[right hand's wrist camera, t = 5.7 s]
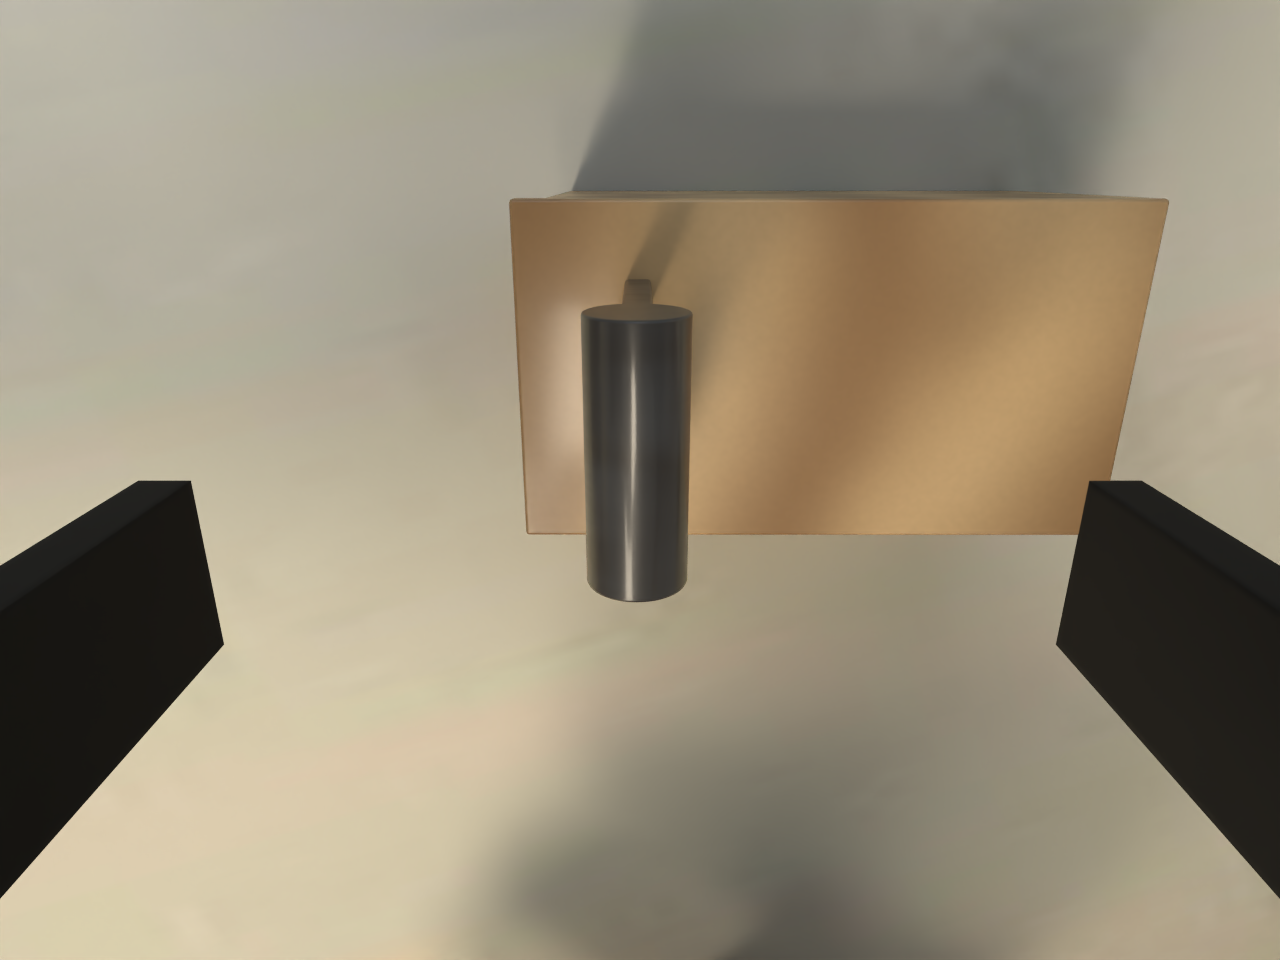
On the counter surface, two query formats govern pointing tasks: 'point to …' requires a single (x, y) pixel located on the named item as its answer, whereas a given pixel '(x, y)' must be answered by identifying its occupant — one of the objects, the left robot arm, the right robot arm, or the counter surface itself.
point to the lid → (819, 367)
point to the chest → (822, 194)
